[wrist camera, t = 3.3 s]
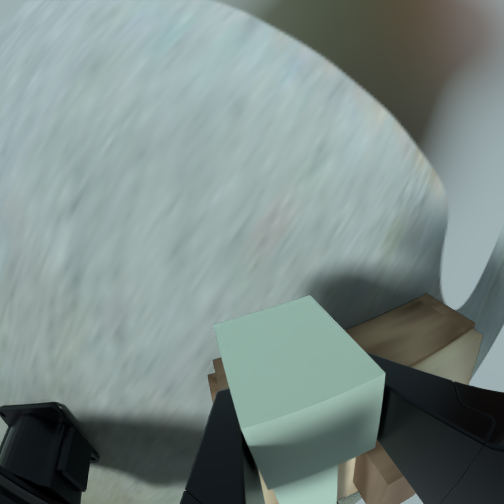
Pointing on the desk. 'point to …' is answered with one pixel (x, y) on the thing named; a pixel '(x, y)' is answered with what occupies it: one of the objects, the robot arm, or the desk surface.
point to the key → (300, 396)
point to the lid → (377, 460)
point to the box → (394, 335)
